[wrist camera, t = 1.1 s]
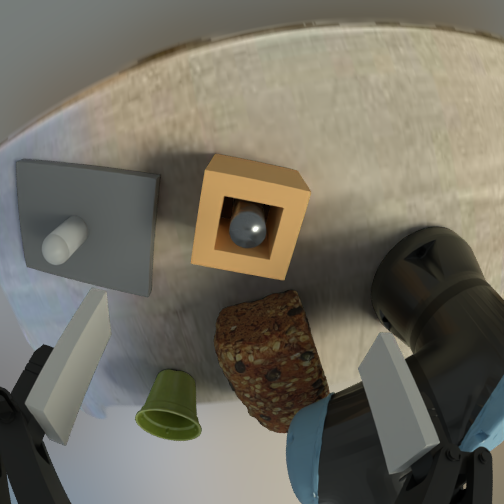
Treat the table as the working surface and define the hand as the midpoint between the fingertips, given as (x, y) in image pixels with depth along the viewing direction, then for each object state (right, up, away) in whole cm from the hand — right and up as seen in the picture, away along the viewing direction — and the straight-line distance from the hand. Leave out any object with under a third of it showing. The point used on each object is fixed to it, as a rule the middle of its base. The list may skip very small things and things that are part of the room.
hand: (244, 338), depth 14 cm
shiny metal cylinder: (0, +9, +16) cm, 19 cm away
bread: (+4, -9, +26) cm, 28 cm away
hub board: (-19, +7, +17) cm, 26 cm away
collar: (0, +9, +16) cm, 19 cm away
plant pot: (-11, -16, +30) cm, 36 cm away
